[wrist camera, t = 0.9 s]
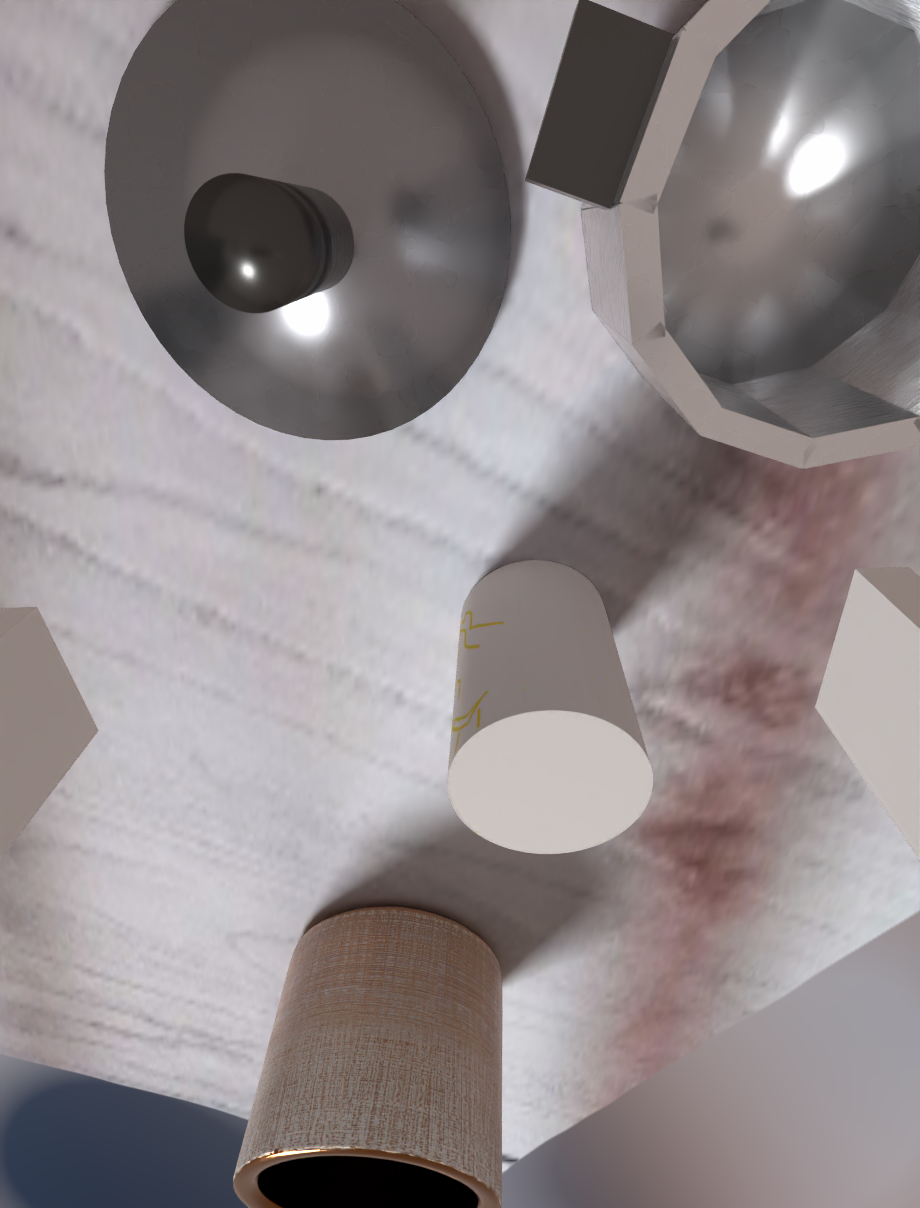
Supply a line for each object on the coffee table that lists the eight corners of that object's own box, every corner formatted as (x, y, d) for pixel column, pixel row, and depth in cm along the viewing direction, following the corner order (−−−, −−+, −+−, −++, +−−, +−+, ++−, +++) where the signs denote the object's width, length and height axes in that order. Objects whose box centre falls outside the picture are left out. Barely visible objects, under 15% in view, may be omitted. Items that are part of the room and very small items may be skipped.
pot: (479, 322, 27) (473, 361, 19) (611, -131, 20) (684, -352, 12) (869, 453, 29) (1002, 534, 22) (1113, 85, 22) (1442, 11, 14)
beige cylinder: (457, 561, 33) (440, 711, 23) (611, 558, 33) (664, 709, 23) (464, 681, 38) (452, 853, 27) (600, 680, 37) (641, 854, 27)
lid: (122, 372, 29) (-11, 424, 22) (127, -100, 21) (-82, -284, 13) (448, 471, 31) (433, 553, 23) (569, 72, 23) (607, -5, 15)
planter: (539, 984, 55) (553, 1230, 41) (375, 1028, 60) (341, 1259, 47) (427, 871, 47) (401, 1127, 34) (252, 934, 53) (170, 1176, 39)
